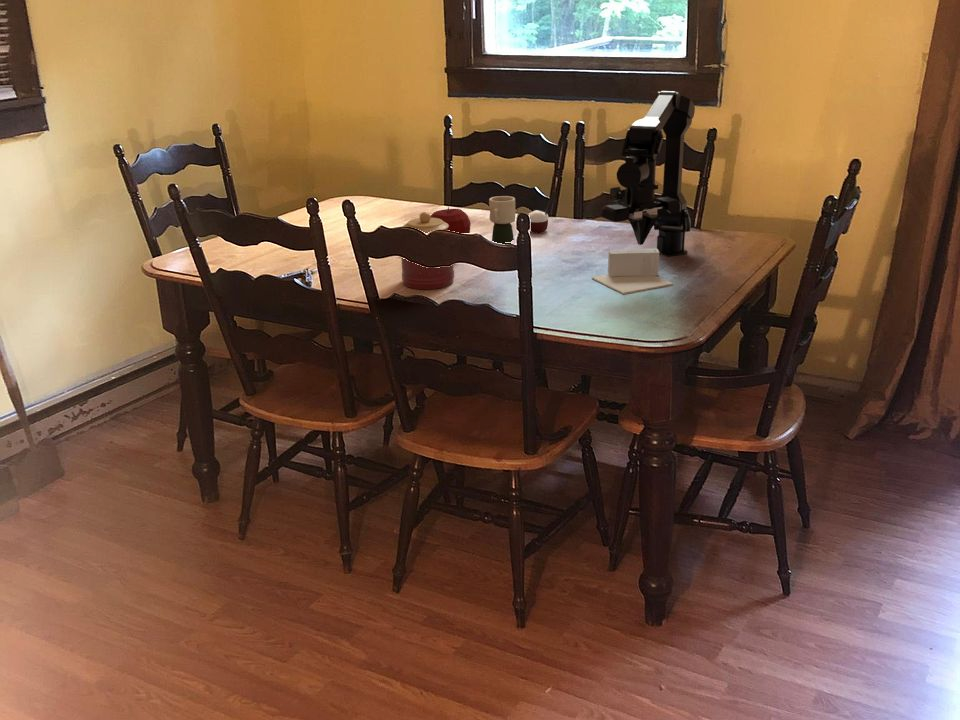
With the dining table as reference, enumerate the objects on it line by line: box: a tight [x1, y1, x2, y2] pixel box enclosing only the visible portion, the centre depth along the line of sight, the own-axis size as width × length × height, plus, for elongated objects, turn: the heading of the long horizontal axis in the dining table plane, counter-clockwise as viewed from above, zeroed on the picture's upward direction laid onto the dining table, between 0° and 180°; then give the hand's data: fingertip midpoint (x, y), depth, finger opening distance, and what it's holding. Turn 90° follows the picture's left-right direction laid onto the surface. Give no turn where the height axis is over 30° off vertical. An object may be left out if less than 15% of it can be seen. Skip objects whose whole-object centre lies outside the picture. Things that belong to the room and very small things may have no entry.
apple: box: [430, 206, 472, 234], centre depth 250 cm, size 12×12×13 cm
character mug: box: [488, 195, 516, 245], centre depth 258 cm, size 11×7×13 cm, turn 156°
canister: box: [400, 211, 455, 290], centre depth 228 cm, size 13×13×18 cm
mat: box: [591, 273, 674, 295], centre depth 226 cm, size 14×14×1 cm
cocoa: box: [528, 189, 555, 234], centre depth 270 cm, size 10×6×12 cm, turn 62°
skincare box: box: [607, 247, 660, 277], centre depth 230 cm, size 6×4×12 cm
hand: (640, 244), depth 224 cm, fingers closed
